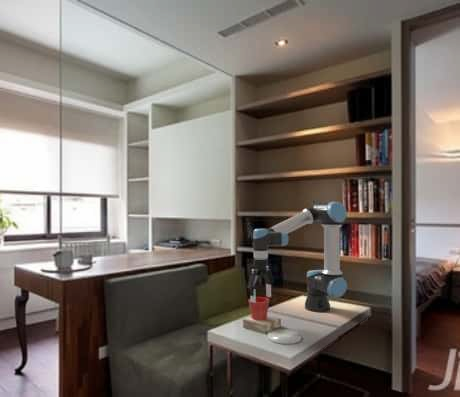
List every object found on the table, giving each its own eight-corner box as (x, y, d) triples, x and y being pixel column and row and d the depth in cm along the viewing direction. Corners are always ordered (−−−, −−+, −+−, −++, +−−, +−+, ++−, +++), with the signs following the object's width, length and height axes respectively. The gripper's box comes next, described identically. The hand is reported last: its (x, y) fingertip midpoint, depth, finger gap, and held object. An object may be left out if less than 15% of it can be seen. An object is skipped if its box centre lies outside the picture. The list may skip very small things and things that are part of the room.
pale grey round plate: (279, 329, 174) (279, 327, 174) (307, 336, 163) (307, 334, 163) (260, 338, 162) (260, 336, 162) (289, 347, 151) (289, 344, 151)
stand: (259, 320, 188) (259, 313, 188) (280, 326, 178) (280, 318, 178) (243, 327, 177) (243, 319, 177) (265, 333, 168) (264, 325, 168)
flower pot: (253, 313, 187) (253, 295, 187) (272, 316, 182) (272, 298, 182) (245, 319, 177) (245, 300, 178) (264, 322, 172) (264, 303, 173)
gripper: (268, 255, 190) (269, 293, 190) (239, 260, 172) (240, 303, 171) (280, 256, 185) (280, 295, 185) (251, 262, 167) (251, 305, 166)
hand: (261, 299), depth 178 cm, fingers open, 13 cm apart
